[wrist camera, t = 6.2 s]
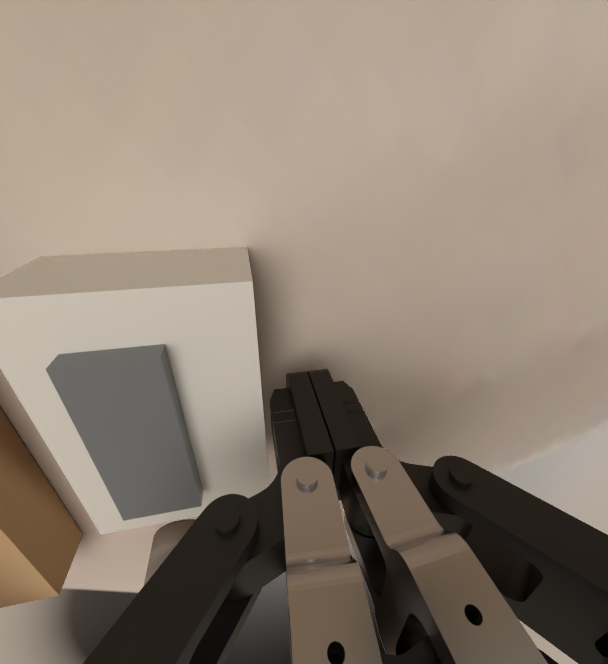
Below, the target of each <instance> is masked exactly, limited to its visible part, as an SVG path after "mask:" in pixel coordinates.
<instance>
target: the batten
mask: <svg viewBox="0 0 608 664" xmlns="http://www.w3.org/2000/svg"><path fill="white" fill-rule="evenodd" d="M82 535H83V534H82V532H81V531H80V529H79V528H78V526H77V525H76V523H75V522H74V520H73V519H72V517H71V516H70V514H69V512H68V511H67V509H66V508H65V506H64V505H63V503H62V502H61V500H60V499H59V497H58V496H57V494H56V492H55V491H54V489H53V488H52V486H51V485H50V483H49V482H48V480H47V479H46V477H45V476H44V474H43V473H42V471H41V469H40V468H39V466H38V465H37V463H36V462H35V460H34V459H33V457H32V456H31V454H30V453H29V451H28V449H27V448H26V446H25V445H24V443H23V442H22V440H21V439H20V437H19V436H18V434H17V433H16V431H15V430H14V428H13V426H12V425H11V423H10V422H9V420H8V419H7V417H6V416H5V414H4V413H3V411H2V410H1V408H0V608H1V607H6V606H11V605H16V604H20V603H25V602H30V601H34V600H39V599H44V598H49V597H53V596H58V595H59V594H60V591H61V589H62V586H63V584H64V581H65V579H66V576H67V574H68V571H69V569H70V566H71V563H72V561H73V558H74V556H75V553H76V551H77V548H78V545H79V543H80V540H81V538H82Z"/></svg>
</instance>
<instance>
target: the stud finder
mask: <svg viewBox="0 0 608 664" xmlns="http://www.w3.org/2000/svg"><path fill="white" fill-rule="evenodd" d="M0 369H1V370H2V372H3V374H4V375H5V377H6V379H7V380H8V382H9V384H10V385H11V387H12V389H13V390H14V392H15V394H16V395H17V397H18V399H19V400H20V402H21V404H22V405H23V407H24V409H25V410H26V412H27V414H28V415H29V417H30V418H31V420H32V422H33V423H34V425H35V427H36V428H37V430H38V432H39V433H40V435H41V437H42V438H43V440H44V442H45V443H46V445H47V447H48V448H49V450H50V452H51V453H52V455H53V457H54V458H55V460H56V462H57V463H58V465H59V467H60V468H61V470H62V471H63V473H64V475H65V476H66V478H67V480H68V481H69V483H70V485H71V486H72V488H73V490H74V491H75V493H76V495H77V496H78V498H79V500H80V501H81V503H82V505H83V506H84V508H85V510H86V511H87V513H88V515H89V516H90V518H91V520H92V521H93V523H94V524H95V526H96V528H97V529H98V531H99V533H100V534H101V535H103V534H108V533H113V532H119V531H124V530H129V529H134V528H139V527H145V526H150V525H155V524H160V523H166V522H171V521H176V520H181V519H186V518H192V517H197V516H200V514H201V513H202V512H203V510H204V509H205V508H206V507H207V506H208V505H209V504H210V503H211V502H212V501H214V500H215V499H217V498H219V497H221V496H223V495H227V494H239V495H243V496H245V497H247V498H250V497H252V496H254V495H256V494H258V493H259V492H261V491H263V490H264V489H266V488H267V487H268V486H270V484H269V472H268V460H267V448H266V436H265V424H264V412H263V400H262V388H261V376H260V364H259V352H258V340H257V328H256V316H255V304H254V292H253V280H252V274H251V268H250V262H249V256H248V250H247V247H233V248H212V249H191V250H169V251H148V252H127V253H105V254H84V255H62V256H41V257H38V258H37V259H35V260H33V261H31V262H29V263H28V264H26V265H24V266H22V267H20V268H18V269H17V270H15V271H13V272H11V273H9V274H7V275H6V276H4V277H2V278H0Z"/></svg>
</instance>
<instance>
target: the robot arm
mask: <svg viewBox="0 0 608 664" xmlns="http://www.w3.org/2000/svg"><path fill="white" fill-rule="evenodd" d="M286 384H287V388H284V389H276V390H274V392H273V394H272V397H271V399H270V410H271V425H272V435H273V442H274V449H275V456H276V463H277V470H278V474H277V476H276V478H275V479H274V481H273V482H272V483H271V484H270V486H268V487H267V488H266V489H264V490H263V491H261V492H259V493H258V494H256V495H254V496H252V497H250V498H247V497H245V496H243V495H239V494H227V495H223V496H221V497H219V498H217V499H215V500H214V501H212V502H211V503H210V504H209V505H208V506H207V507H206V508H205V509H204V510H203V512H202V513H201V514H200V516H199V517H198V518H197V519H196V521H195V522H194V523H193V524H192V526H191V527H190V528H189V530H188V531H187V532H186V533H185V535H184V536H183V537H182V538H181V540H180V541H179V542H178V544H177V545H176V546H175V547H174V549H173V550H172V551H171V552H170V554H169V555H168V556H167V558H166V559H165V560H164V561H163V563H162V564H161V565H160V566H159V568H158V569H157V570H156V571H155V573H154V574H153V575H152V577H151V578H150V579H149V580H148V582H147V583H146V584H145V585H144V587H143V588H142V589H141V591H140V592H139V593H138V595H137V596H136V597H135V598H134V599H133V601H132V602H131V603H130V605H129V606H128V607H127V608H126V610H125V611H124V612H123V613H122V615H121V616H120V617H119V619H118V620H117V621H116V623H115V624H114V625H113V626H112V628H111V629H110V630H109V631H108V633H107V634H106V635H105V636H104V638H103V639H102V640H101V641H100V643H99V644H98V645H97V647H96V648H95V649H94V650H93V652H92V653H91V654H90V655H89V657H88V658H87V659H86V661H85V662H84V663H83V664H224V661H225V660H226V658H227V656H228V654H229V652H230V650H231V648H232V646H233V644H234V642H235V640H236V638H237V636H238V634H239V632H240V630H241V628H242V627H243V625H244V622H245V620H246V619H247V617H248V615H249V613H250V611H251V609H252V607H253V605H254V603H255V601H256V599H257V597H258V595H259V593H260V591H261V589H262V587H263V586H265V585H266V584H268V583H269V582H270V581H272V580H273V579H275V578H276V577H278V576H279V575H281V574H282V573H284V572H285V571H286V580H287V597H288V613H289V630H290V647H291V662H292V663H291V664H558V663H557V662H555V661H554V660H553V659H552V658H550V657H549V656H548V655H547V654H545V653H544V652H542V651H541V650H539V649H538V648H537V647H536V645H535V644H534V642H533V641H532V639H531V638H530V636H529V635H528V633H527V632H526V631H525V629H524V627H523V626H522V624H521V623H520V621H522V622H523V623H524V624H526V625H527V626H528V627H530V628H531V629H533V630H534V631H535V632H537V633H538V634H539V635H541V636H542V637H543V638H545V639H546V640H547V641H549V642H550V643H552V644H553V645H554V646H555V647H557V648H558V649H559V650H561V651H562V652H563V653H565V654H566V655H568V656H569V657H570V658H572V659H573V660H574V661H576V662H577V663H578V664H608V535H607V534H605V533H603V532H601V531H599V530H597V529H595V528H593V527H592V526H590V525H588V524H586V523H584V522H582V521H580V520H578V519H577V518H575V517H573V516H571V515H569V514H567V513H565V512H563V511H561V510H560V509H558V508H556V507H554V506H552V505H550V504H548V503H547V502H545V501H543V500H541V499H539V498H537V497H535V496H533V495H532V494H530V493H528V492H526V491H524V490H522V489H520V488H519V487H517V486H515V485H513V484H511V483H509V482H507V481H505V480H503V479H502V478H500V477H498V476H496V475H494V474H492V473H490V472H489V471H487V470H485V469H483V468H481V467H479V466H477V465H475V464H474V463H472V462H470V461H468V460H466V459H463V458H460V457H457V456H444V457H441V458H439V459H438V460H437V461H436V462H435V464H434V466H433V467H430V466H422V465H414V464H408V463H404V462H401V461H399V460H398V459H397V458H396V457H395V456H394V455H393V454H392V453H391V452H390V451H388V450H386V449H384V448H383V447H382V445H381V444H380V442H379V440H378V438H377V436H376V434H375V432H374V430H373V428H372V426H371V424H370V422H369V420H368V418H367V416H366V414H365V412H364V411H363V408H362V406H361V404H360V402H358V398H357V396H356V394H355V393H354V391H353V389H352V388H351V387H349V386H348V385H347V384H346V383H345V382H344V381H338V382H333V380H332V378H331V375H330V373H329V371H328V369H322V370H313V371H307V372H297V373H289V374H287V375H286ZM338 500H341V501H342V504H343V507H344V511H345V515H344V523H343V518H342V514H341V509H340V505H339V501H338ZM344 525H345V527H344ZM345 528H346V531H347V534H348V536H349V539H350V542H351V544H352V547H353V550H354V552H355V555H356V558H357V560H358V563H359V566H360V568H361V571H362V574H363V576H364V579H365V581H366V584H367V587H368V589H369V592H370V595H371V598H372V601H373V605H374V611H375V619H376V623H377V628H378V631H379V635H380V638H381V641H382V644H383V646H384V649H385V652H386V654H380V652H379V647H378V643H377V639H376V635H375V631H374V626H373V622H372V618H371V614H370V610H369V606H368V601H367V597H366V593H365V589H364V585H363V580H362V577H361V573H360V570H359V567H358V564H357V562H356V560H355V559H354V558H352V555H351V553H350V549H349V545H348V541H347V536H346V532H345ZM518 619H519V620H520V621H519V620H518Z"/></svg>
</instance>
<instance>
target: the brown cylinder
mask: <svg viewBox="0 0 608 664" xmlns="http://www.w3.org/2000/svg"><path fill="white" fill-rule="evenodd" d="M195 521H196V520H182V521H176V522H173V523H170V524H167V525H165V526H163V527H162V528H160V529H159V530H158V531H157V532H156V533H155V535H154V539H153V543H152V548H151V553H150V558H149V563H148V568H147V573H146V578H145V583H144V585H145V584H146V583H147V582H148V580H149V579H150V578H151V577H152V575H153V574H154V573H155V571H156V570H157V569H158V568H159V566H160V565H161V564H162V563H163V561H164V560H165V559H166V558H167V556H168V555H169V554H170V552H171V551H172V550H173V549H174V547H175V546H176V545H177V544H178V542H179V541H180V540H181V538H182V537H183V536H184V535H185V533H186V532H187V531H188V530H189V528H190V527H191V526H192V524H193V523H194V522H195Z"/></svg>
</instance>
